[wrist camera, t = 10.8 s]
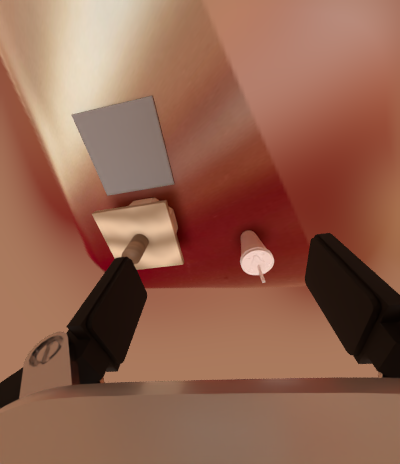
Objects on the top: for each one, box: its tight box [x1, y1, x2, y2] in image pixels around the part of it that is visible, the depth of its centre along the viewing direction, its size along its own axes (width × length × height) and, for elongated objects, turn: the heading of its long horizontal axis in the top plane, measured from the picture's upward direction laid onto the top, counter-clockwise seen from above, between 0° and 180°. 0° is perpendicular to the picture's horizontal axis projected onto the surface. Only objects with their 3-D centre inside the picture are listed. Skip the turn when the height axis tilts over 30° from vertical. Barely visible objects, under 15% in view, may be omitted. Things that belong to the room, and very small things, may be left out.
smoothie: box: [240, 231, 274, 283], centre depth 38 cm, size 6×6×14 cm
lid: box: [92, 200, 184, 270], centre depth 34 cm, size 14×14×6 cm
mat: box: [72, 96, 174, 196], centre depth 35 cm, size 15×15×1 cm
